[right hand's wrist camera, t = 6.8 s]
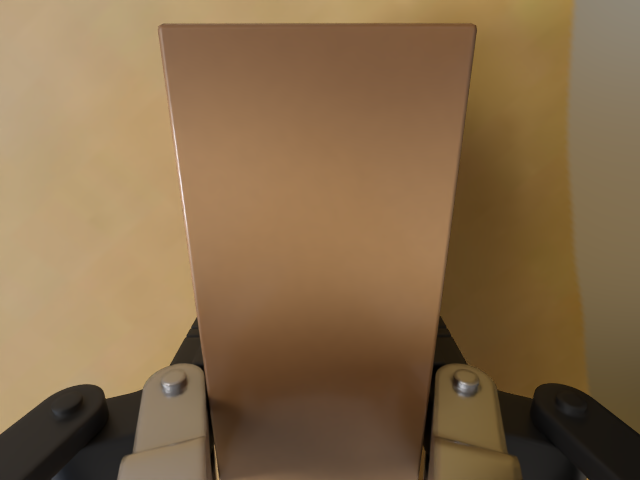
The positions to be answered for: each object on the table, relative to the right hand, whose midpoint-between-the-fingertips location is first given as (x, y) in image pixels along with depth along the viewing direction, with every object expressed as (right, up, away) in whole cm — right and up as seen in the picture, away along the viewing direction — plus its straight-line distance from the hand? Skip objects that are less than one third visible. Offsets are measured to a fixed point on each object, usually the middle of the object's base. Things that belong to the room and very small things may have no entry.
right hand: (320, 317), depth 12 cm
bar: (0, -28, +14) cm, 31 cm away
